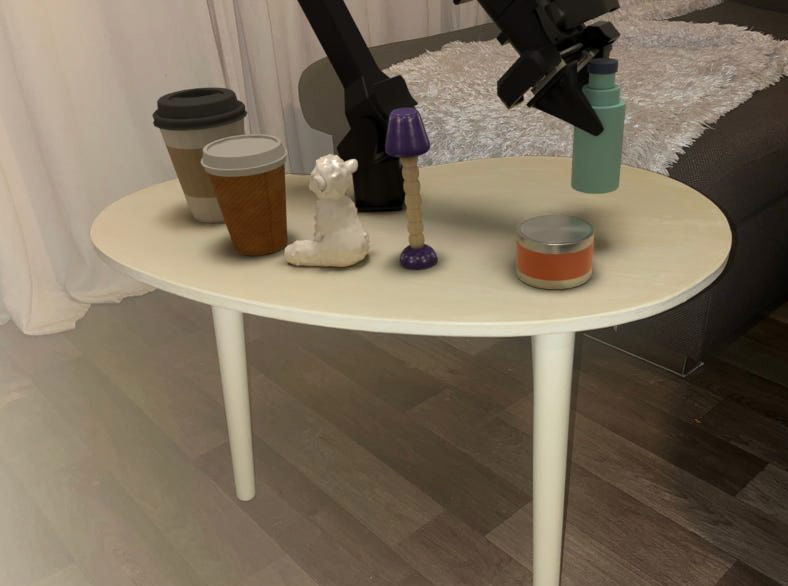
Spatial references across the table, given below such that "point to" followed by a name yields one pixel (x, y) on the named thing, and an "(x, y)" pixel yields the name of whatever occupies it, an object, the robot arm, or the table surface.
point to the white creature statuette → (332, 219)
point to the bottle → (601, 153)
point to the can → (554, 251)
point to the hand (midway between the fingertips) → (610, 126)
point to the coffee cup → (198, 139)
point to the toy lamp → (411, 180)
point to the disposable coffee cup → (250, 190)
